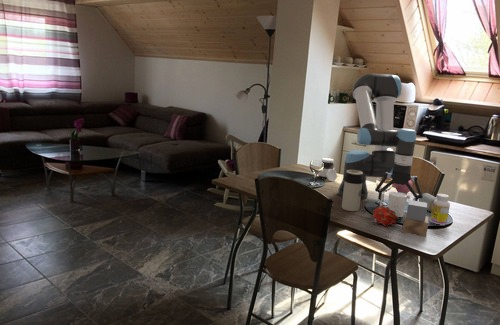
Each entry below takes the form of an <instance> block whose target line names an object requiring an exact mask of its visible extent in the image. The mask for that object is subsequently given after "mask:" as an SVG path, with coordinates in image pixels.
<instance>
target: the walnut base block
mask: <svg viewBox="0 0 500 325" xmlns="http://www.w3.org/2000/svg"><path fill="white" fill-rule="evenodd" d="M406 216H407V212H404V215H403V223H402V231H401V232H402V233H403V234H408V235H413V236H420V237H424V238H426V237H427V235H428V234H427V233H428V228H429V217H428V216H427V215H426V218H425V222H423V221H417V220H412V219H406Z"/></svg>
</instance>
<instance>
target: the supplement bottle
mask: <svg viewBox="0 0 500 325" xmlns="http://www.w3.org/2000/svg"><path fill="white" fill-rule="evenodd" d="M436 198H437V199H436V200H434V202H433V208H432V212H431V213H430V214H431V215H430V220H429V221H430V222H431V223H432V222H433V223H436V224H440V225H439V226H446V225H447V223H448V220H449V219H448V218H449V213H450V207H451V203H450V202H449V199H450V198H449V195H448V194H445V193H437V194H436ZM433 223H432V224H433ZM436 224H435V225H436ZM445 224H446V225H445Z"/></svg>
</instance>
